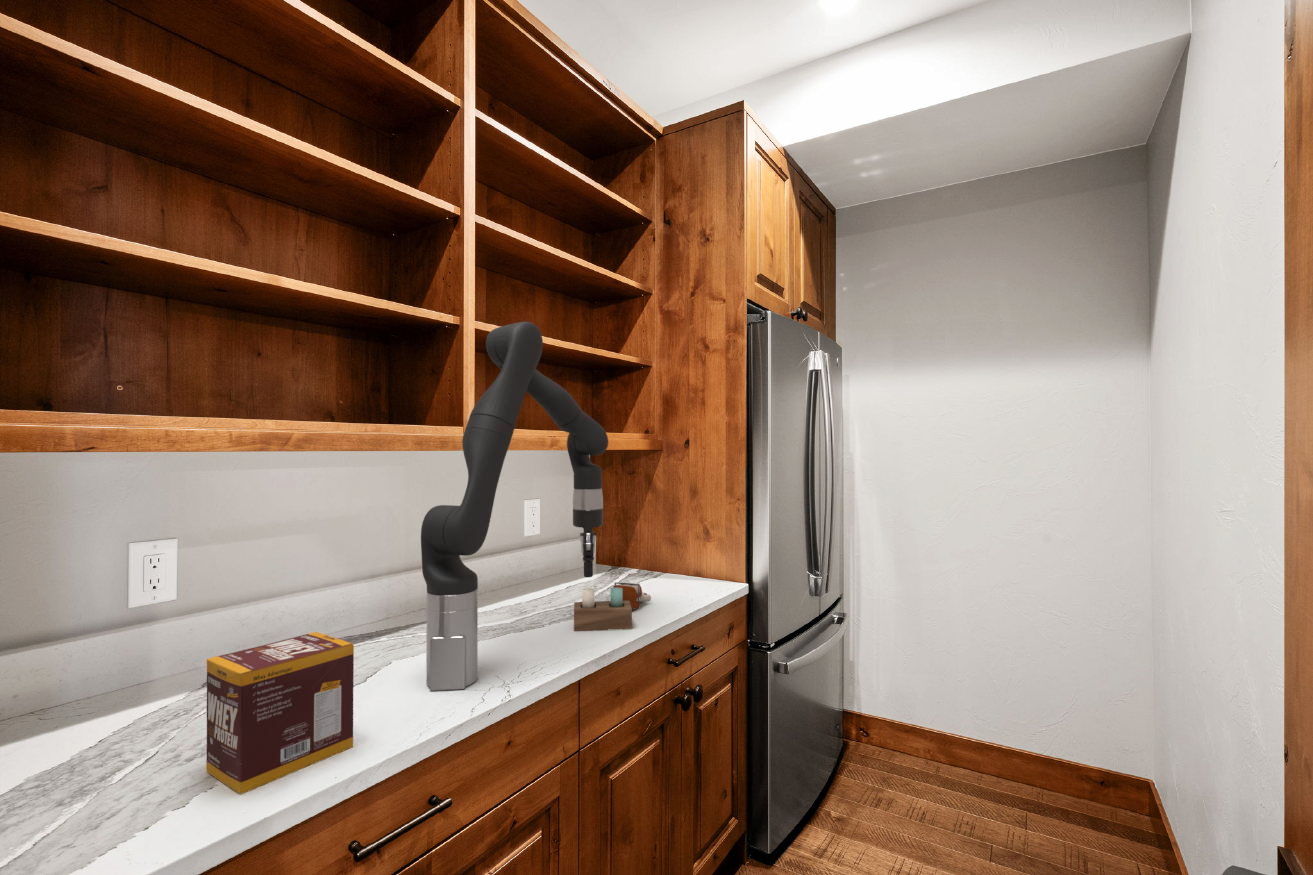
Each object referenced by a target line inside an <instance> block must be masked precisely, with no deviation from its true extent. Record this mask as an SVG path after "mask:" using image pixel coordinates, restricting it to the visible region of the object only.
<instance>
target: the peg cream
mask: <svg viewBox="0 0 1313 875" xmlns="http://www.w3.org/2000/svg"><path fill="white" fill-rule="evenodd" d="M581 592H582V594H581V598H582V601H581V602H582V608H594V602H595V589H594V588H591V587H589V588H588V587H587V588H586V587H585V588H582V590H581Z"/></svg>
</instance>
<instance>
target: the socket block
mask: <svg viewBox="0 0 1313 875" xmlns="http://www.w3.org/2000/svg"><path fill="white" fill-rule="evenodd" d="M573 605H574V606H573V632H591V631H592V632H593V631H594V632H595V630H596V631H609V630H608V629H623V630H632V628H633V618H632V617H633V609H632V608H631V604H630V601H629V600H628V601H623V607H611V600H607V601H606V600H603V601H594V608H582V601H576V602H575V601H574V602H573Z"/></svg>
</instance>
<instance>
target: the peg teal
mask: <svg viewBox="0 0 1313 875" xmlns="http://www.w3.org/2000/svg"><path fill="white" fill-rule="evenodd" d="M610 601H611V607H623V589H622V588H619V587H615V588H613V587H611V588H610Z"/></svg>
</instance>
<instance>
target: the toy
mask: <svg viewBox="0 0 1313 875" xmlns="http://www.w3.org/2000/svg"><path fill="white" fill-rule="evenodd" d="M615 587H619V588H622V589H623V601H628V600H629V601H630V604H631V608H632V610H636V609H637V610H638V609H639V608H640V605H641V603H644V602H647V603H648V602H650V601H651V599H652V597H651V596H652V595H651V594H648V593H647V592H643V590H642V586H641V585H640V583H632V582H631V583H630V582H614V585H613V587H612V588H615Z"/></svg>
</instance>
